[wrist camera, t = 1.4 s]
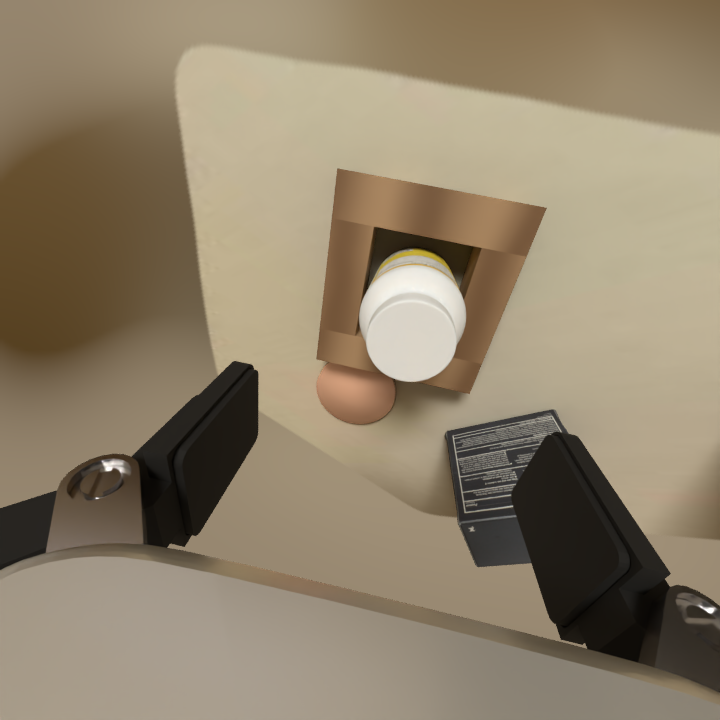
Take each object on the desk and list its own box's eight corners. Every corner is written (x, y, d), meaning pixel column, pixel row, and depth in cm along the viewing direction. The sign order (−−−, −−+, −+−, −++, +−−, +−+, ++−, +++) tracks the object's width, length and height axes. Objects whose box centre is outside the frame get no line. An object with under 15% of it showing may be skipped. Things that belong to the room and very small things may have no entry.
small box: (460, 473, 35) (475, 572, 26) (443, 429, 33) (453, 522, 24) (565, 456, 32) (623, 563, 23) (555, 406, 30) (617, 503, 20)
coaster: (403, 364, 30) (403, 367, 29) (386, 427, 34) (386, 431, 33) (322, 346, 30) (320, 349, 30) (314, 410, 34) (313, 413, 34)
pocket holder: (531, 205, 22) (546, 208, 20) (464, 375, 29) (469, 393, 27) (346, 170, 23) (337, 168, 20) (325, 344, 30) (316, 359, 28)
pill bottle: (407, 335, 28) (401, 415, 18) (358, 282, 27) (323, 337, 17) (469, 289, 26) (502, 353, 16) (419, 226, 24) (420, 252, 14)
